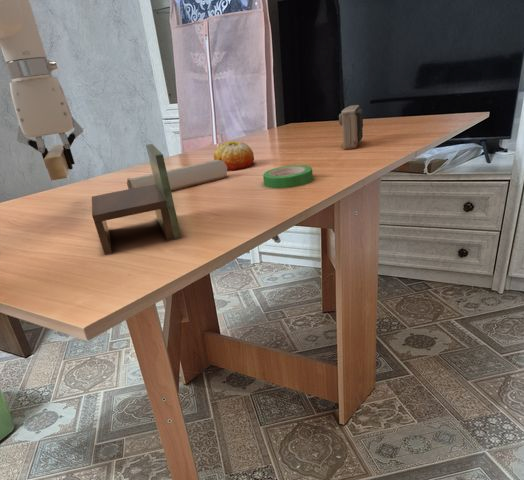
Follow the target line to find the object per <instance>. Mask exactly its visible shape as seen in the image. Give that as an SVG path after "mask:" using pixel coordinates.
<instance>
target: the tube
mask: <svg viewBox="0 0 524 480" xmlns="http://www.w3.org/2000/svg"><path fill="white" fill-rule="evenodd" d="M166 171H167V175H168V180H169V184H170V189H171V192H174V191H178V190H182V189H186V188H190V187H194V186H197V185H202V184H207V183H211V182H214V181H219V180H223V179H225V178H226V177H227V176H228V171H227V166H226V164H225V163H224V162H223V161H221V160H214V159H213V160H209V161H205V162H200V163H196V164H195V163H194V164H191V165H185V166H181V167H178V168H172V169H168V170H166ZM153 184H155V181H154V177H153V173H150V174H145V175H142V176H141V175H140V176H136V177H132V178H130V177H127V179H126V186H127V189H133V188H138V187H143V186H148V185H153Z"/></svg>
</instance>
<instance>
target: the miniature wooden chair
mask: <svg viewBox="0 0 524 480" xmlns="http://www.w3.org/2000/svg"><path fill="white" fill-rule="evenodd" d="M145 148H146V151H147V156H148V159H149V164H150V168H151V169H150V170H151V172H152V173H151V174H153V177H154V181H155V184H153V185H148V186H143V187H138V188H133V189H128V188H127V189H124V190H119V191H113V192H108V193H102V194H97V195H92V196H91V217H92V219H93V223H94V225H95V229H96V232H97V235H98V238H99V242H100V244H101V248H102V250H103V253H104V255H105V256H107V255H111V254H113V251H112V244H111V237H110V229H109V226H108V223H107V221H111V220H115V219H119V218H125V217H129V216H134V215H139V214H144V213H148V212H153V211H154V213H155V215H156V220H157V222H158V224H159V226H160V228H161V230H162V232H163V234H164V236H165V238H166V240H167V241H168V242H169V241H170V242H171V241H174V240H178V239H182V234H181V229H180V225H179V224H180V223H179V220H178V216H177V215H178V214H177V212H176V207H175V202H174V198H173V194H172V193H173V192H172V191H171V189H170V184H169V180H168V175H167V171H168V170H167V166H166V162H165V158H164V154H163V153H162V152H161V151H160V150H159V149H158V148H157V147H156V146H155V145H154V144H153V143H149V144H148V143H147V144H146V145H145Z"/></svg>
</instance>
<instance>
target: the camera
mask: <svg viewBox="0 0 524 480" xmlns="http://www.w3.org/2000/svg"><path fill="white" fill-rule="evenodd" d="M363 111H364V110H363V108H361V107H360V105H359V104H353V105H349V106H347V107H344V108H343V109H342V110H341V113H339V115H338V120H339V121H338V122H339V125H340V126H341V132H342V148H343V150H353V149H356V148H357V147H358V146H359V144H360V142H361V141H362V140H363V136H364V133H363V128H364V115H363V114H364V113H363Z"/></svg>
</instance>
